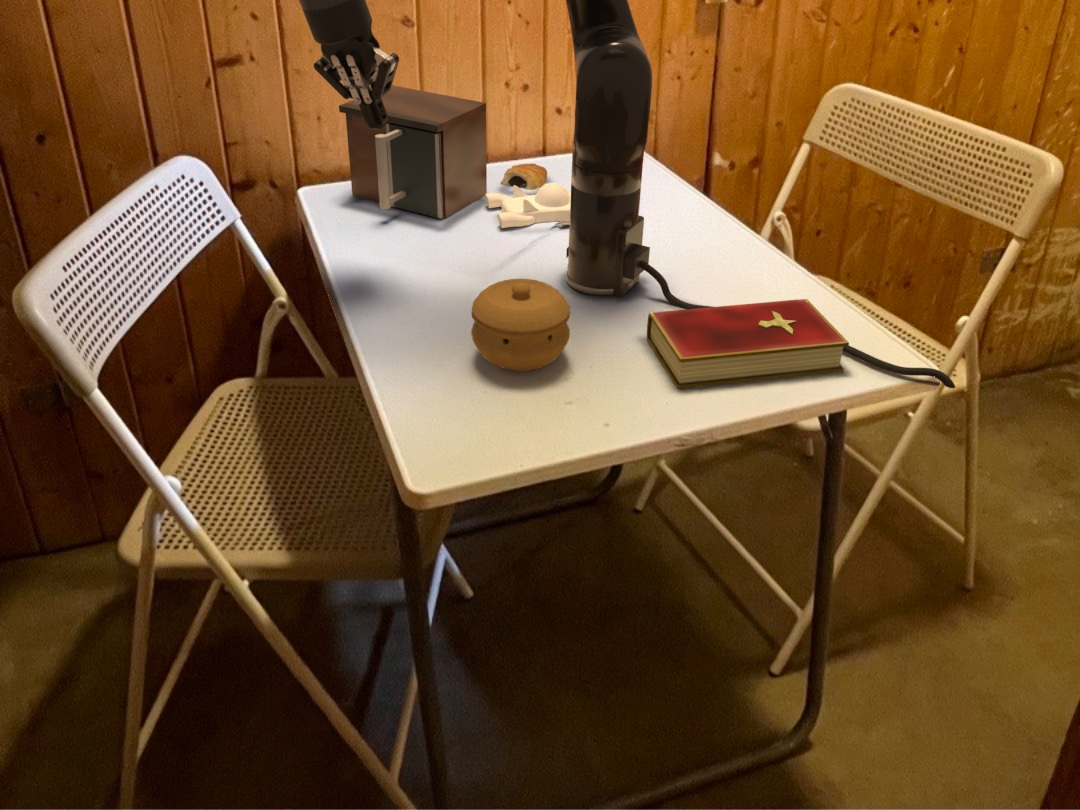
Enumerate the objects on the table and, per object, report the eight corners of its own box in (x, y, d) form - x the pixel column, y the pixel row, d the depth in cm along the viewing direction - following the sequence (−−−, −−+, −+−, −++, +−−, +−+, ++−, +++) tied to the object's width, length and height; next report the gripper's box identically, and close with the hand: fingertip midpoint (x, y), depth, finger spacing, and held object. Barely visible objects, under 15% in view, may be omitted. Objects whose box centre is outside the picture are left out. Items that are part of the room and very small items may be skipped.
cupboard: (441, 229, 155) (437, 125, 146) (347, 205, 162) (338, 105, 153) (486, 201, 165) (486, 102, 156) (396, 180, 172) (391, 84, 163)
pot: (525, 325, 130) (526, 253, 124) (588, 361, 122) (592, 287, 117) (452, 354, 123) (450, 280, 117) (514, 394, 116) (515, 317, 110)
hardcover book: (645, 338, 127) (648, 309, 125) (800, 324, 131) (805, 295, 129) (677, 388, 117) (680, 357, 115) (843, 371, 122) (849, 340, 119)
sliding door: (420, 231, 150) (416, 144, 143) (369, 218, 154) (362, 133, 147) (443, 217, 155) (440, 133, 148) (393, 204, 159) (388, 122, 152)
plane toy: (625, 226, 157) (627, 190, 154) (500, 238, 152) (500, 202, 149) (603, 201, 165) (605, 167, 162) (484, 212, 161) (484, 177, 157)
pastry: (520, 173, 176) (520, 152, 174) (556, 179, 174) (557, 158, 172) (498, 191, 168) (498, 169, 166) (535, 198, 166) (536, 175, 164)
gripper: (390, -21, 120) (434, 113, 131) (309, -16, 127) (358, 111, 138) (353, 5, 116) (402, 142, 126) (271, 9, 122) (324, 139, 133)
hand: (379, 126), depth 132 cm, fingers closed
